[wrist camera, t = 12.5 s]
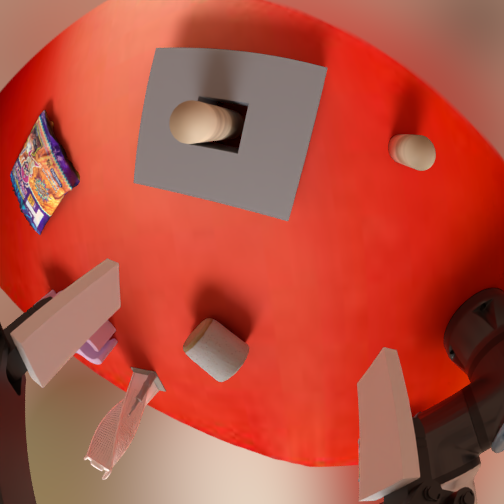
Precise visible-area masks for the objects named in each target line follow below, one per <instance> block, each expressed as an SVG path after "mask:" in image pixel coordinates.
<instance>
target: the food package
mask: <svg viewBox="0 0 504 504" xmlns="http://www.w3.org/2000/svg"><path fill="white" fill-rule="evenodd" d="M53 126H54V124H53V121H52V122H50V120H49V118H48V115H47V112H46V110H44V111H43V112H42V113H41V114H40V116H39V118H38V120H37V121H36V123H35V124H34V126H33V129H32V130H31V133H30V135H29V137H28V139H27V141H26V143H25V145H24V147H23V149H22V151H21V153H20V155H19V157H18V158H17V160H16V162H15V165H14V167H13V169H12V171H11V176H10V177H11V182H12V187H13V188H14V190H12V191H14V192H15V195H16V196H17V198H18V201H19V203H20V210H21V212H22V213H24V216H25V217H26V219H27V220H28V222H29V223H30V225H31V226H32V227H33V229H34V230H35V231H36V232H37V233H38V234H39V235H41V232H42V230H43V228H44V226H45V225H46V223H47V222H48V220H49V219H50V217H51V216H52V214H53V212H54V211H55V209H56V208H57V206H58V205H59V203H60V202H61V200H62V199H63V197H64V196H65V195H66V193H67V192H68V191H70V190H72V188H73V187H75V186H77V185H78V184H79V182H80V176H79V173H78V172H77V171H76V170H75V168H74V167H73V165H72V163H71V162H70V161H69V160H68V159H67V156H66V153H65V151H64V149H63V147H62V145H61V144H60V143H59V142H58V141H57V139H56V137H55V135H54V132H53Z"/></svg>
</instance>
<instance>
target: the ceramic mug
mask: <svg viewBox="0 0 504 504" xmlns="http://www.w3.org/2000/svg"><path fill="white" fill-rule="evenodd" d="M183 350H184V352H185V353H186V354H187V355H188V357H189V358H190V359H192V360H193V361H194V362H195V363H196V364H198V365H199V366H200V367H201V368H203V369H204V370H205V371H206V372H207V373H209V374H210V375H211V376H212V377H213V378H215V379H216V380H217V381H219V382H223V381H225V380H227V379H229V378H230V377H232V376H233V375H234V374H235V373H236V372H237V371H238V370H239V369H240V367H241V366H242V365H243V363H244V361H245V360H246V358H247V355H248V353H249V346H248V345H247V344H246V343H245V342H243V341H242V340H241V339H240V338H238V337H237V336H236V335H234V334H233V333H232V332H230V331H229V330H228V329H226V328H225V327H224V326H223V325H222V324H220V323H219V322H218V321H216V320H214V319H212V318H207V319H205V320H203V321H202V322H201V323H200V324H199V325H198V326H197V327H196V328H195V329H194V331H193V332H192V333H191V334H190V335H189V337H188V338H187V340H186V341H185V343H184V345H183Z"/></svg>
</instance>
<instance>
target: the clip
mask: <svg viewBox="0 0 504 504" xmlns="http://www.w3.org/2000/svg"><path fill="white" fill-rule="evenodd" d="M62 291H63V290H62ZM62 291H59V292H58V293H57V294H56V293H55V291H54V290H51V291H50V292H49V293H48V294H46V295H45V296H44V297H43V298H41V299H40V300H42V299H44V298H47V297H50V296H51V297H52V298H54V297H55V296H57V295H58V294H59V293H60V292H62ZM40 300H39V301H40ZM39 301H38V302H39ZM35 304H36V303H35ZM35 304H34V305H35ZM115 331H116V329H115V327H114V326H113V325H112V324H111V323H110V322H109V321H108V320H107V321H106V322H105V323H104V324H103V325H102V326H101V327H100V328H99V329H98V330H97V331H96V332H95V333H94V334H93V335H92V336H91V337H90V338H89V339H88V340H87V341H86V342H85V343H84V344H83V345H82V346H81V348H80V349H79V350H78V351H77V352H76V353H78V354H80V355H82V356H83V357H85V358H86V359H87V360H89V361H90V362H92V363H94V364H101V363H102V362H103V361H104V359H105V358H106V357H107V356H108V354H109V353H110V352H111V350H112V349H113V348H114V347H115V345H116V344H117V343H118V341H117V340H116V339H114V338H113V339H111V340H109V339H110V337H111V336H112V335H113V334H114V333H115Z"/></svg>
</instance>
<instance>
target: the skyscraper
mask: <svg viewBox="0 0 504 504" xmlns="http://www.w3.org/2000/svg"><path fill="white" fill-rule="evenodd" d="M131 369H132V370H133V374H132V377H131V380H130V383H129V386H128V389H127V392H126V396H125V398H124V399H122V400H121V401H120V402H119V403H118V404H117V405H115V406H114V407H113V408H112V409H111V410H110V411H109V412H108V413H107V415H106V416H105V417H104V418H103V419H102V421H101V422H100V424H99V426H98V427H97V429H96V431H95V433H94V436H93V438H92V440H91V443H90V446H89V449H88V451H87V455H86V456H85V457H84V460H86V459H88V460H90V461H91V463H90V464H91V465H92V466H94V467H95V468H97V469H98V470H100V471H103V469H104V470H106V472H105V473H104V475H103V476H102V479H103V480H104V479H106V478H108V476H109V475H110V474H111V472H112V467H113V466H114V465H115V464H116V463H117V461H118V460H119V459H120V458H121V456H122V455H123V454H124V453H125V451H126V450H127V448H128V447H129V445H130V443H131V442H132V440H133V438H134V436H135V434H136V431H137V429H138V426H139V424H140V420H141V417H142V414H143V411H144V407H145V406H146V405H147V404H148V402H149V401H150V400H151V399H152V398H153V397H154V396H155V395H156V394H157V392H158V391H159V390H161V391H166V390H165V388H164V386H163V385H162V383H161V381H160V379H159V377H158V376H157V374H156V372H155V371H149V370H144V369H139V368H134V367H131ZM108 471H109V472H108ZM106 474H107V475H106Z"/></svg>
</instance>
